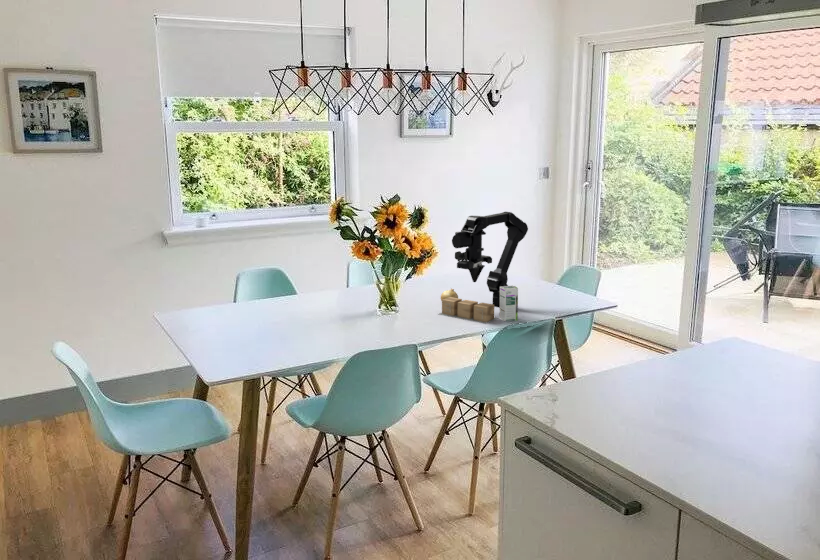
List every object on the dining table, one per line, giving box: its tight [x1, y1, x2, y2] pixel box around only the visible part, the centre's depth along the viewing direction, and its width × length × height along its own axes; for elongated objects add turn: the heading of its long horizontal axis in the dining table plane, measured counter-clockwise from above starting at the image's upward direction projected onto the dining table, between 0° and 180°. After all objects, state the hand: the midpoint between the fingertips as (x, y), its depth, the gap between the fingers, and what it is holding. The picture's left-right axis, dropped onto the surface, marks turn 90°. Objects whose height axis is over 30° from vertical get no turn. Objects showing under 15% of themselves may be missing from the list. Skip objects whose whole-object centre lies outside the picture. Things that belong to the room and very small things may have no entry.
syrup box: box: [499, 285, 519, 322], centre depth 280 cm, size 6×6×14 cm
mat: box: [437, 312, 500, 325], centre depth 287 cm, size 10×24×1 cm, turn 51°
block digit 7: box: [474, 302, 495, 322], centre depth 281 cm, size 6×6×6 cm
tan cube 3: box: [441, 297, 463, 316], centre depth 291 cm, size 6×6×6 cm
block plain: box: [458, 299, 479, 319], centre depth 286 cm, size 6×6×6 cm
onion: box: [440, 288, 459, 302], centre depth 310 cm, size 8×8×7 cm
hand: (474, 282), depth 295 cm, fingers closed
